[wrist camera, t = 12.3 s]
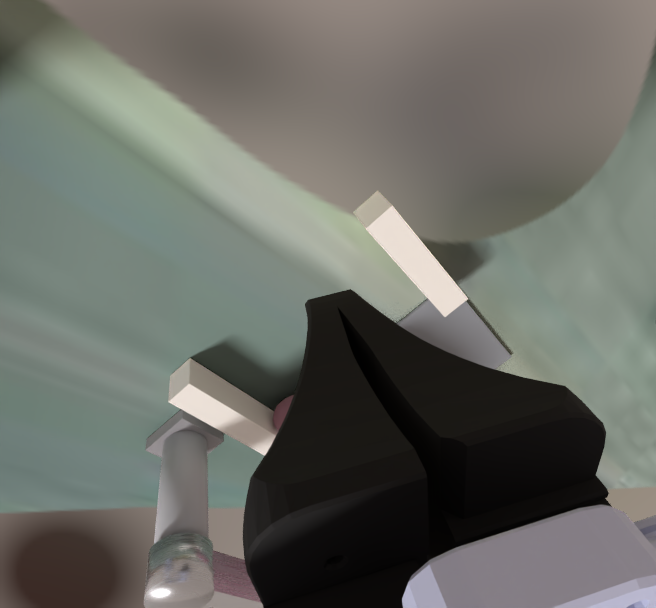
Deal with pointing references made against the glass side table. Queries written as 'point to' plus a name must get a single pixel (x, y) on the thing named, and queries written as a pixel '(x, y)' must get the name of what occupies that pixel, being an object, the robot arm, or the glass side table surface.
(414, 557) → the robot arm
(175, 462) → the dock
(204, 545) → the orange and grey bar
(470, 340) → the mat
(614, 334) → the glass side table surface
